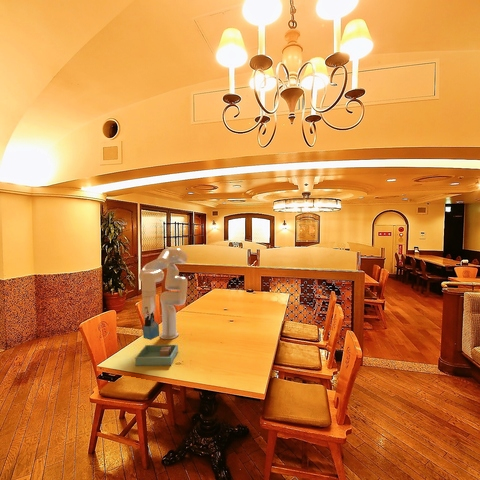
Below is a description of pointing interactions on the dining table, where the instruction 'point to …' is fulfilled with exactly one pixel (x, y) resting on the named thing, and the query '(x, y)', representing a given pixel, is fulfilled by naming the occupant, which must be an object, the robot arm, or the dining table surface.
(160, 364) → the tote
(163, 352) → the walnut cube
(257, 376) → the dining table surface
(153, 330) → the perfume bottle
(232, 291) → the dining table surface
